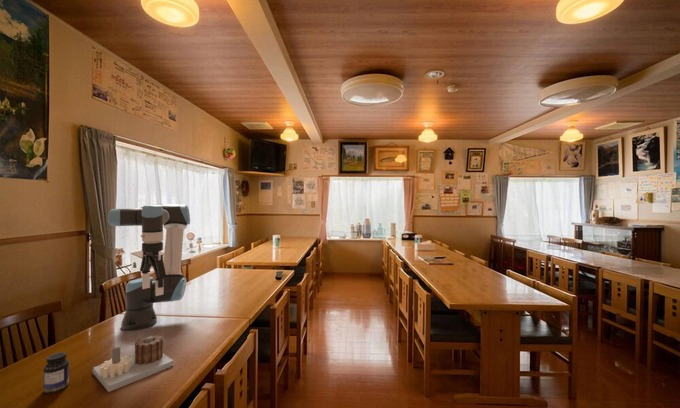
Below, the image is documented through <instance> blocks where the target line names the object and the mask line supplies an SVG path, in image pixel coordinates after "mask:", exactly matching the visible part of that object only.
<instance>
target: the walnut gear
mask: <svg viewBox="0 0 680 408" xmlns="http://www.w3.org/2000/svg"><path fill="white" fill-rule="evenodd" d="M147 337H148V336H144V337H143V338H140V339H138V340H137V341H135V342H134V353H135V363H136V364H137V363H138V365H141V364H144V363H145V364H148V363H150V362H152V363H153V362H155V361H156V360H159V359H161V357H162V356H163V354H164V338H163V336H162V335H149V337H153V341H152V342H149V343H145V338H147Z"/></svg>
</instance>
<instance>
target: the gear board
mask: <svg viewBox="0 0 680 408" xmlns="http://www.w3.org/2000/svg"><path fill="white" fill-rule="evenodd" d="M146 337H147V338H145V343H149V342H152V341H153V337H150V336H146ZM121 348H122V347H121V346H115V347H112V349H111V358H110V359H109V360H107V359H106V360H105V361H103V363H101V364H99V365H97V366H93V367H92V374H93V376H95V378H96V379H97V380H98V381H99V383H101V385H102V387H104V389H106V391H107V392H108V393H110V392H112V391H114V390H115V391H116V390H117V389H120V388H122V387H125V386H127V385H129V384H132V383H134V382H137V381H140V380H141V379H144V378H147V377H149V376H153V375H154V374H156V373H159V372H162V371H164V370H167V369H169V368H172V367H174V360H173V359H172V358H171V357H168V356H167V355H166V354H165V353H163V356H162V357H161V359H159V360H156V361H155V362H153V363H152V362H150V363H148V364H145V363H144V364H141V365H138V363H137V364H136V363H135V352H134V353H132V354H129V355H124V356H122V355H121V354H122V353H121ZM171 366H172V367H171ZM166 368H167V369H166Z"/></svg>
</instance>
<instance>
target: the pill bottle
mask: <svg viewBox="0 0 680 408" xmlns="http://www.w3.org/2000/svg"><path fill="white" fill-rule="evenodd" d="M46 363H47V364H45V365H44V367H43V393H44V394H47V395H50V394H56V393H59V392H61V391H63V390H64V389H66V388H67V387H68V386H69V384H70V361H69V359H67V352H63V351H62V352H57V353H53V354H51V355H48V356H47V357H46Z"/></svg>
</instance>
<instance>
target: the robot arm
mask: <svg viewBox="0 0 680 408" xmlns="http://www.w3.org/2000/svg"><path fill="white" fill-rule="evenodd" d="M107 222H108V224H109V226H111V227H130V226H131V227H135V226H141V234H140V237H141V241H142V243H141V252H142V257H141V263H140V268H139V272H141V274H142V276H141V277H140V278H136V279H134V280H133V279H132V280H130V281H129V282H128V283H126V286H125V311H124V312H125V313H124V315H123V318H122V320H121V324H120V328H121V329H122V330H124V331H135V330H136V331H137V330H142V329H145V328H149V327H152V326H153V325H155V324H156V323H157V321H158V317H157V314H156V312H155V309H154V304H155V303H156V304H157V303H169V302H172V303H173V302H178V301H180V300H182V299H183V297H184V295H185V292H186V287H187V278H186V277H184V274H183V273H182V272H181V271H182V270H181V269H182V259H183V258H182V256H183V241H184V231H185V230H186V229H187V227H188V225H190V224H191V216H190V209H189V207H188V205H186V204H180V203H179V204H161V203H160V204H152V205H151V204H150V205H143V206H141V207H139V208H138V207H137V208H136V207H135V208H112V209H110V210H108V214H107ZM163 228H164V229H165V240H164V229H163ZM163 240H164V241H165V242H163ZM163 249H164V252H163V254H160V253H159V252H162V251H163ZM151 268H153V269H152V270H153V273H154V274H155V279H154V276H151Z"/></svg>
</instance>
